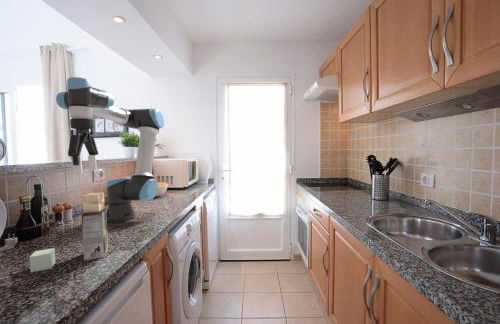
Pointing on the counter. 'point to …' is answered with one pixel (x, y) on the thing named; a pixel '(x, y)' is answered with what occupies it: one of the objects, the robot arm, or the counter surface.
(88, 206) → the maple block
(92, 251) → the coffee box
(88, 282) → the counter surface
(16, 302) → the counter surface
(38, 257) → the sage block
